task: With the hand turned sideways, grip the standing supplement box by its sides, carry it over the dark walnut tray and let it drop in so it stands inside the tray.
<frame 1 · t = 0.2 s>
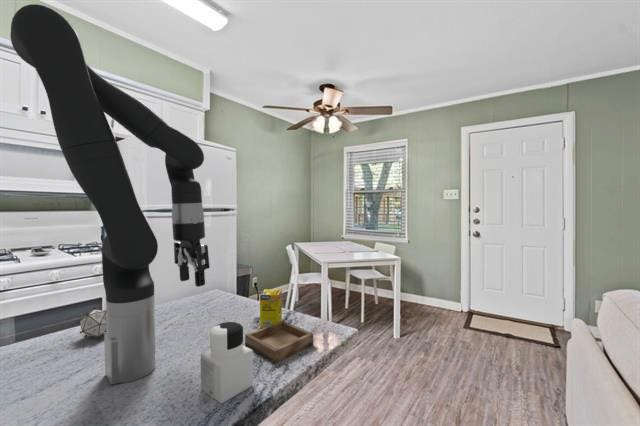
hand: (192, 283, 76), 18 cm above the counter, tool pointing down, fingers open, 8 cm apart
tray: (279, 345, 80), on the counter
game die: (96, 337, 85), on the counter
container: (227, 388, 61), on the counter
supplement box: (271, 327, 92), on the counter
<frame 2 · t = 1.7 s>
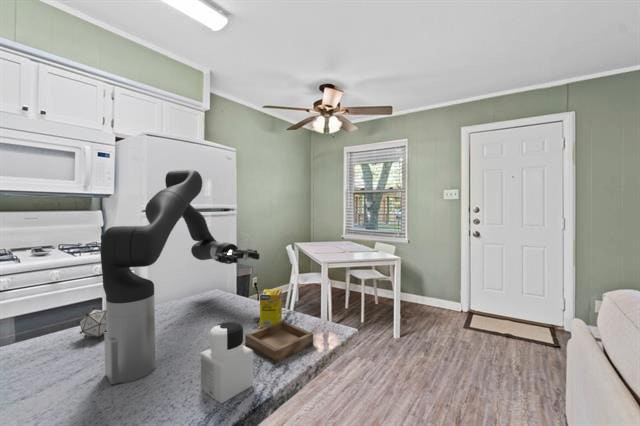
hand: (247, 258, 100), 20 cm above the counter, tool horizontal, fingers open, 8 cm apart
nothing on the counter moved.
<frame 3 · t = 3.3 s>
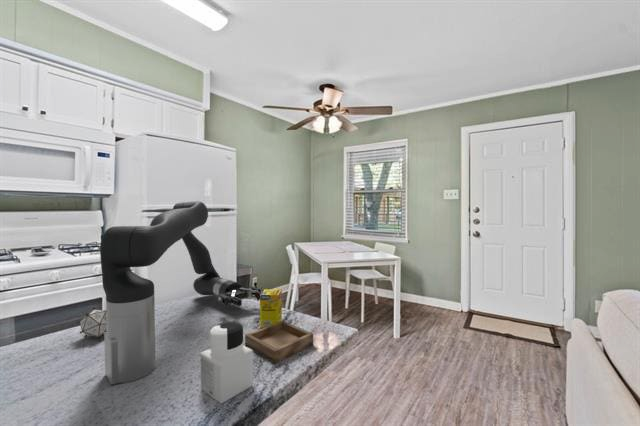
hand: (252, 299, 99), 6 cm above the counter, tool horizontal, fingers open, 8 cm apart
nothing on the counter moved.
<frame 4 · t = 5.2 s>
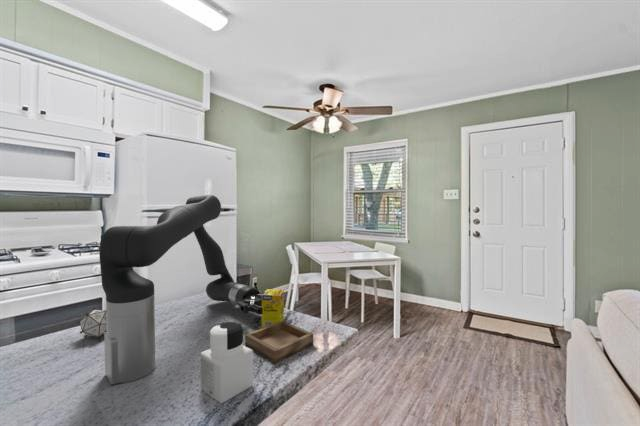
hand: (273, 307, 91), 6 cm above the counter, tool horizontal, fingers closed on supplement box, 8 cm apart
supplement box: (273, 327, 91), on the counter, touching gripper
everything else where it was.
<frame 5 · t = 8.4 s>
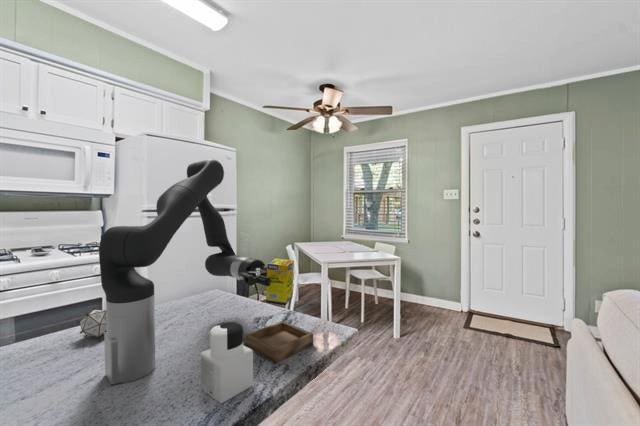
hand: (281, 279, 80), 18 cm above the counter, tool horizontal, fingers closed on supplement box, 8 cm apart
supplement box: (279, 300, 81), point 11 cm above the counter, touching gripper
everything else where it was.
when the fingers open (8 cm above the counter, at t = 11.1 s): supplement box drops 1 cm, resting on tray.
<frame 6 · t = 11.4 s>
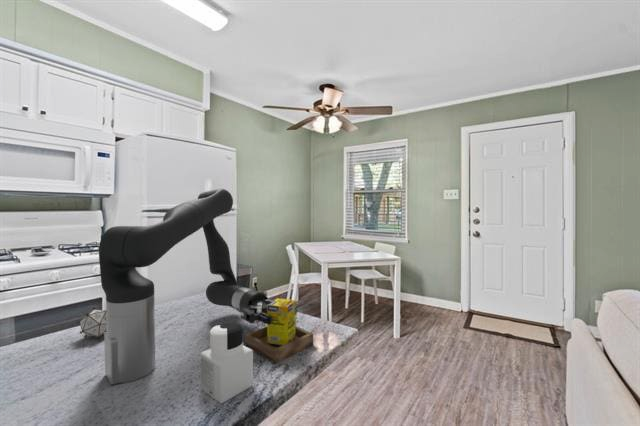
hand: (283, 316, 78), 8 cm above the counter, tool horizontal, fingers open, 8 cm apart
supplement box: (281, 343, 79), point 1 cm above the counter, touching tray
everything else where it was.
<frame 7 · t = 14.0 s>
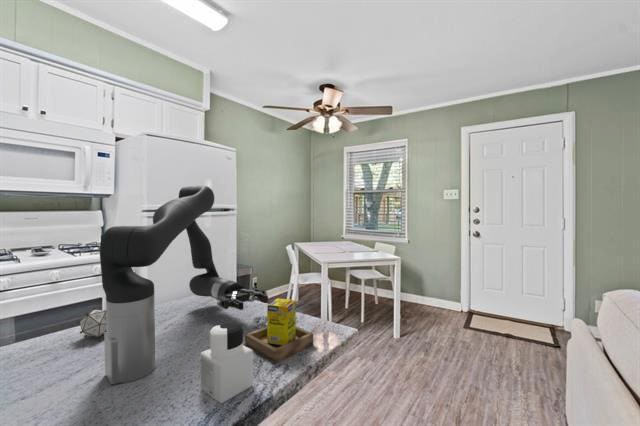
hand: (255, 302, 87), 9 cm above the counter, tool horizontal, fingers open, 8 cm apart
nothing on the counter moved.
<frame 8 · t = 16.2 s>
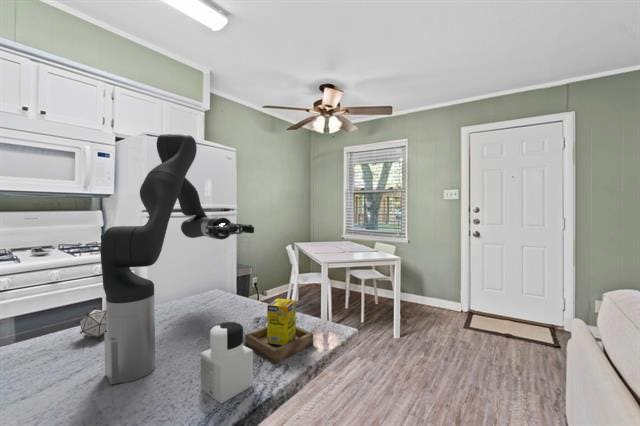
hand: (241, 230, 91), 30 cm above the counter, tool horizontal, fingers open, 8 cm apart
nothing on the counter moved.
at the end: supplement box 0.9 cm off-centre on the tray, point 0.8 cm above the tray's base; supplement box tilted 0°; the gripper is holding nothing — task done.
